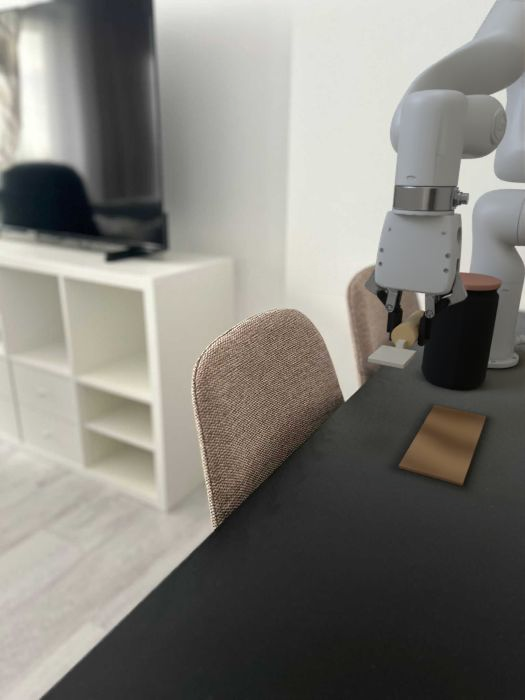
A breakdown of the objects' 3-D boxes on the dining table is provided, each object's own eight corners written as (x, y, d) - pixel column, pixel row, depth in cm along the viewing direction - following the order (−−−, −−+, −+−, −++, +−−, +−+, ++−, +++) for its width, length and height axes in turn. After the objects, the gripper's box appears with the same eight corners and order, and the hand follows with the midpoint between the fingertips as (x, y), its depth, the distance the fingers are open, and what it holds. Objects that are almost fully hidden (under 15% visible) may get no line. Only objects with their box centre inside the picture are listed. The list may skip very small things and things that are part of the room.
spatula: (404, 328, 76) (406, 308, 75) (435, 333, 74) (437, 312, 73) (367, 362, 63) (369, 337, 62) (403, 369, 61) (406, 343, 60)
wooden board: (434, 407, 79) (434, 404, 79) (485, 418, 76) (486, 416, 76) (398, 468, 63) (398, 465, 63) (462, 486, 59) (462, 483, 59)
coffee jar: (482, 372, 93) (499, 274, 87) (486, 395, 84) (505, 287, 78) (421, 365, 96) (433, 270, 90) (418, 386, 87) (431, 281, 81)
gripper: (499, 202, 63) (476, 343, 69) (370, 197, 71) (361, 324, 77) (489, 206, 57) (466, 360, 63) (350, 200, 65) (341, 338, 71)
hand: (408, 339), depth 70 cm, fingers closed on spatula, 3 cm apart
